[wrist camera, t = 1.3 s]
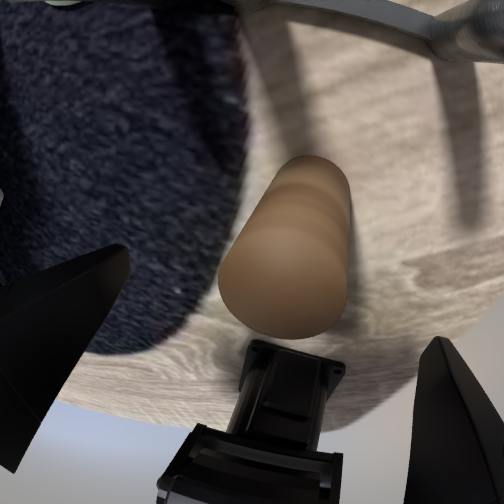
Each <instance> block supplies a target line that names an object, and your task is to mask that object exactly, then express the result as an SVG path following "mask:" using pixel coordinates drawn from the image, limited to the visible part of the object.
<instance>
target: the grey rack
mask: <svg viewBox="0 0 504 504" xmlns="http://www.w3.org/2000/svg"><path fill="white" fill-rule="evenodd" d="M7 1H8V2H11V3H14V2H29V1H88V2H103V3H115V4H124V5H133V6H141V7H148V8H154V9H160V10H164V9H169V8H171V7H173V6H175V5H176V4H177V3H178V2H179V1H180V0H7ZM220 1H222V2H225V3H227V4H229V5H232V6H234V7H236V8H238V9H241V10H244V11H251V12H252V11H258V10H261V9H264V8H265V7H267V6H268V5H270V4H271V3H276V4H284V5H291V6H297V7H304V8H310V9H315V10H320V11H325V12H330V13H335V14H340V15H344V16H348V17H352V18H356V19H360V20H364V21H368V22H371V23H375V24H378V25H382V26H385V27H388V28H391V29H394V30H397V31H400V32H403V33H406V34H409V35H412V36H415V37H418V38H420V39H423V40H426V42H427V44H428V46H429V48H430V49H431V50H432V51H433V53H435V54H436V55H437V56H438V57H440V58H442V59H444V60H447V61H462V62H484V63H498V64H504V0H469V1H467V2H464V3H462V4H460V5H458V6H456V7H454V8H451V9H449V10H447V11H445V12H443V13H441V14H439V15H437V16H435V17H434V16H431V15H428V14H426V13H423V12H420V11H418V10H415V9H412V8H409V7H406V6H403V5H400V4H397V3H394V2H391V1H388V0H220Z"/></svg>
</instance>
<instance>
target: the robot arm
mask: <svg viewBox="0 0 504 504" xmlns="http://www.w3.org/2000/svg"><path fill="white" fill-rule="evenodd" d="M130 273H131V264H130V254H129V249H128V248H127V247H126V246H123V245H120V244H112V245H109V246H107V247H104V248H101V249H98V250H95V251H93V252H90V253H87V254H84V255H82V256H79V257H76V258H74V259H71V260H68V261H66V262H63V263H60V264H58V265H55V266H52V267H50V268H47V269H45V270H42V271H40V272H37V273H34V274H32V275H29V276H27V277H24V278H22V279H19V280H17V281H15V282H14V283H13V282H12V283H9V284H7V285H5V286H2V287H0V465H1V466H3V467H4V468H5V469H7V470H8V471H10V472H11V473H13V474H14V473H15V472H16V470H17V468H18V466H19V464H20V462H21V460H22V458H23V456H24V454H25V452H26V451H27V449H28V447H29V445H30V443H31V441H32V439H33V438H34V435H35V434H36V432H37V430H38V428H39V427H40V425H41V422H42V421H43V419H44V417H45V416H46V414H47V412H48V410H49V409H50V407H51V405H52V404H53V402H54V400H55V398H56V397H57V395H58V393H59V392H60V390H61V388H62V387H63V385H64V383H65V382H66V380H67V378H68V377H69V375H70V374H71V372H72V370H73V369H74V367H75V366H76V364H77V362H78V361H79V359H80V358H81V356H82V355H83V353H84V351H85V350H86V348H87V347H88V345H89V344H90V342H91V341H92V339H93V338H94V336H95V335H96V333H97V332H98V330H99V329H100V327H101V326H102V324H103V323H104V321H105V319H106V318H107V316H108V315H109V313H110V311H111V309H112V307H113V306H114V304H115V302H116V300H117V298H118V296H119V294H120V293H121V291H122V289H123V287H124V285H125V284H126V282H127V280H128V278H129V276H130ZM345 371H346V366H345V364H343V363H340V362H336V361H332V360H329V359H325V358H321V357H317V356H313V355H309V354H306V353H302V352H298V351H295V350H291V349H287V348H284V347H280V346H277V345H274V344H270V343H267V342H263V341H260V340H251V341H250V343H249V345H248V349H247V353H246V358H245V362H244V366H243V371H242V375H241V380H240V384H239V388H238V390H239V392H241V393H240V395H239V398H238V401H237V404H236V406H235V409H234V412H233V414H232V417H231V420H230V422H229V425H228V428H227V430H226V432H223V431H219V430H216V429H212V428H209V427H207V425H204V424H200V423H197V425H196V426H195V428H194V430H193V431H192V432H190V433H189V435H188V436H187V438H186V439H185V441H184V443H183V444H182V446H181V447H180V449H179V450H178V452H177V453H176V455H175V457H174V458H173V460H172V461H171V463H170V464H169V466H168V467H167V469H166V470H165V472H164V473H163V475H162V476H161V477H160V478H159V479H158V481H157V488H158V490H159V491H158V495H157V501H156V504H339V499H340V489H341V478H342V465H343V453H336V452H334V453H325V452H318V451H317V446H318V441H319V435H320V431H321V425H322V420H323V414H324V408H325V403H326V401H327V400H328V398H329V397H330V395H331V394H332V392H333V391H334V389H335V388H336V386H337V385H338V383H339V382H340V380H341V379H342V377H343V376H344V374H345ZM403 504H504V422H503V421H502V419H501V417H500V416H499V414H498V412H497V411H496V409H495V407H494V406H493V404H492V402H491V401H490V399H489V398H488V396H487V394H486V393H485V391H484V390H483V388H482V387H481V385H480V383H479V382H478V380H477V379H476V377H475V376H474V374H473V373H472V371H471V370H470V368H469V367H468V366H467V364H466V363H465V361H464V360H463V358H462V357H461V355H460V354H459V352H458V351H457V350H456V348H455V347H454V345H453V344H452V342H451V341H450V340H449V339H448V338H445V337H441V336H436V337H434V338H433V340H432V341H431V342H430V344H429V345H428V346H427V348H426V349H425V350H424V352H423V353H422V355H421V357H420V360H419V369H418V378H417V386H416V393H415V400H414V409H413V426H412V439H411V450H410V460H409V468H408V477H407V484H406V490H405V497H404V503H403Z"/></svg>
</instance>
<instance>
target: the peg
mask: <svg viewBox="0 0 504 504" xmlns="http://www.w3.org/2000/svg"><path fill="white" fill-rule="evenodd" d="M349 238H350V188H349V184H348V181H347V179H346V177H345V175H344V173H343V172H342V171H341V170H340V169H339V167H337V166H336V165H335V164H334V163H332V162H331V161H329V160H327V159H325V158H322V157H318V156H301V157H297V158H294V159H292V160H290V161H288V162H287V163H285V164H284V165H283V166H282V167H281V168H280V170H279V171H278V172H277V174H276V176H275V177H274V179H273V180H272V182H271V184H270V185H269V187H268V189H267V190H266V192H265V193H264V195H263V197H262V198H261V200H260V201H259V203H258V205H257V206H256V208H255V210H254V211H253V213H252V215H251V216H250V218H249V219H248V221H247V223H246V224H245V226H244V228H243V229H242V231H241V233H240V234H239V236H238V237H237V239H236V241H235V242H234V244H233V246H232V247H231V249H230V251H229V252H228V254H227V256H226V257H225V259H224V261H223V262H222V264H221V267H220V269H219V274H218V286H219V291H220V295H221V297H222V299H223V302H224V303H225V305H226V307H227V308H228V309H229V311H230V312H231V313H232V314H233V315H234V316H235V317H236V318H237V319H238V320H239V321H240V322H242V323H243V324H244V325H246V326H247V327H249V328H251V329H252V330H254V331H256V332H259V333H261V334H264V335H267V336H270V337H274V338H279V339H289V340H295V339H305V338H309V337H313V336H316V335H319V334H321V333H323V332H325V331H326V330H328V329H329V328H331V327H332V326H333V325H334V324H335V323H336V322H337V321H338V320H339V318H340V317H341V315H342V313H343V311H344V308H345V305H346V299H347V283H348V265H349Z"/></svg>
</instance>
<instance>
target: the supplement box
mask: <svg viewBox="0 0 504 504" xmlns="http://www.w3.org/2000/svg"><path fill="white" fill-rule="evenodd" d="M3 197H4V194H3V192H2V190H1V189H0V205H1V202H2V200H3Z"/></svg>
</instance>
